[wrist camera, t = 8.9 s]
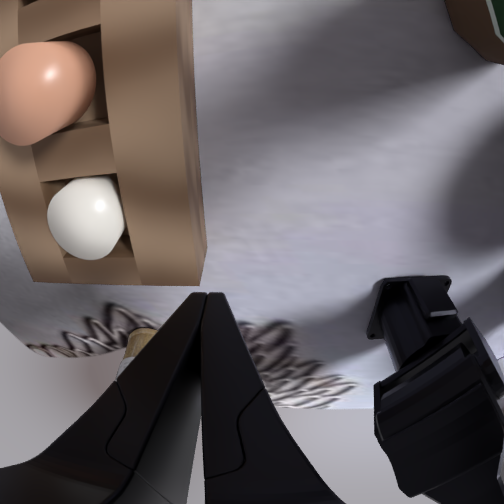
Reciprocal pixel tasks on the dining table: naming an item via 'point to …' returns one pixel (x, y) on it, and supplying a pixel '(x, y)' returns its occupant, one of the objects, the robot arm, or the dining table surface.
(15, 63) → the middle knob
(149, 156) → the knob mount
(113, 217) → the knob
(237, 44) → the dining table surface
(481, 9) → the beer bottle
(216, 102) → the dining table surface
